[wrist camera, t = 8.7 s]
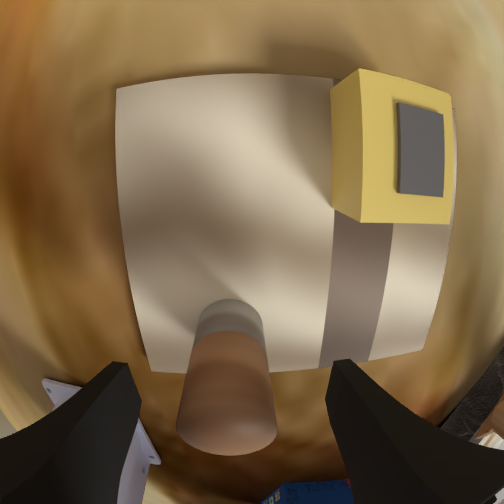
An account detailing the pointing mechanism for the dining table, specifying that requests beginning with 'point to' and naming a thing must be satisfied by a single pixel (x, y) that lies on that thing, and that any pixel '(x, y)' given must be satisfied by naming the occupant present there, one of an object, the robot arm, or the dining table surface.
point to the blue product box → (312, 493)
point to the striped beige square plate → (261, 225)
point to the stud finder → (391, 150)
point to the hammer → (481, 407)
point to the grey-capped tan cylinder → (228, 383)
